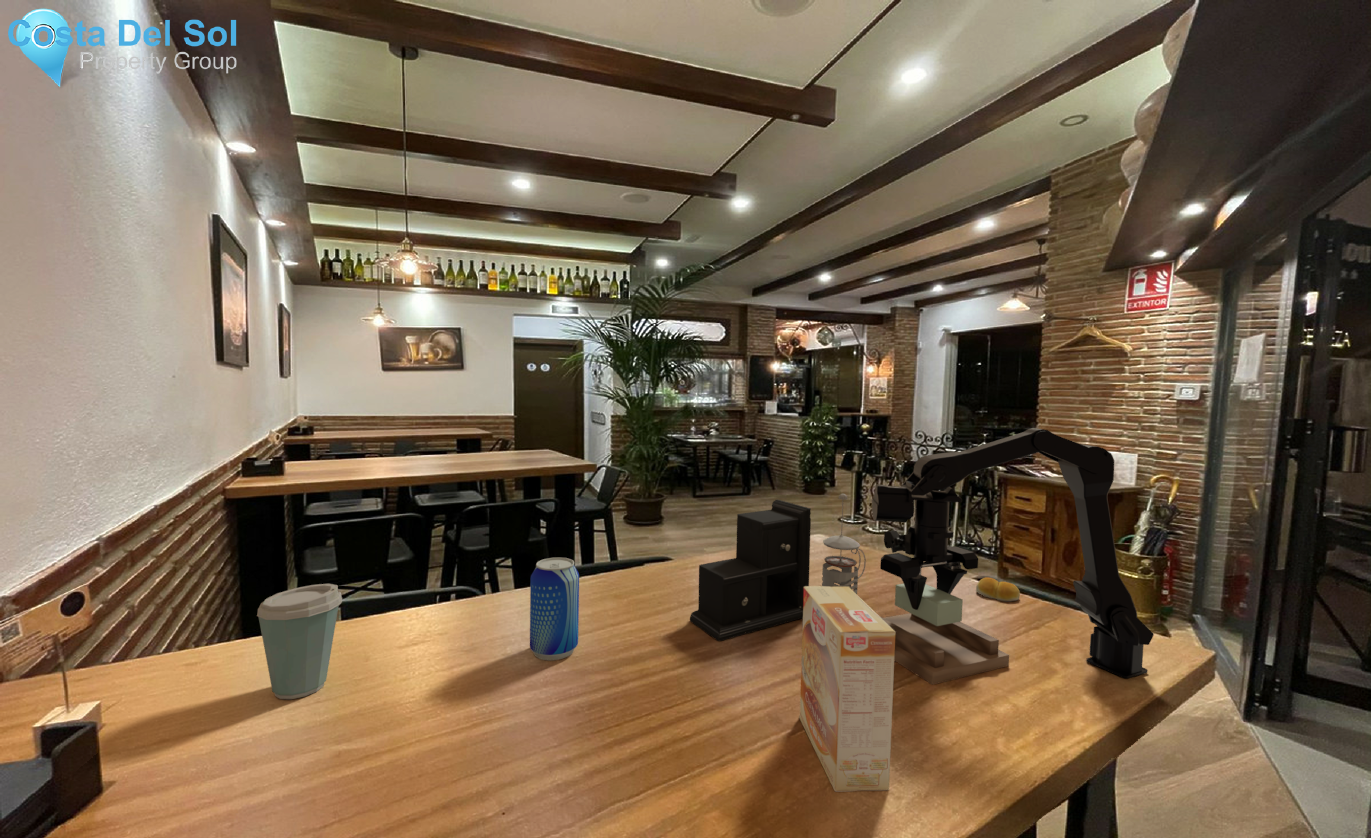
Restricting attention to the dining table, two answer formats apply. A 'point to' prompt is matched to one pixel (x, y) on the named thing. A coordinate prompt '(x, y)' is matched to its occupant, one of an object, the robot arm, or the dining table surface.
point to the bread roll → (997, 590)
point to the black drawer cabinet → (758, 574)
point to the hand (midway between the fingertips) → (927, 606)
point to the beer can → (554, 608)
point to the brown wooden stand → (943, 649)
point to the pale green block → (932, 605)
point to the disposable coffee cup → (299, 638)
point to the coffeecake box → (847, 687)
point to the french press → (841, 561)
